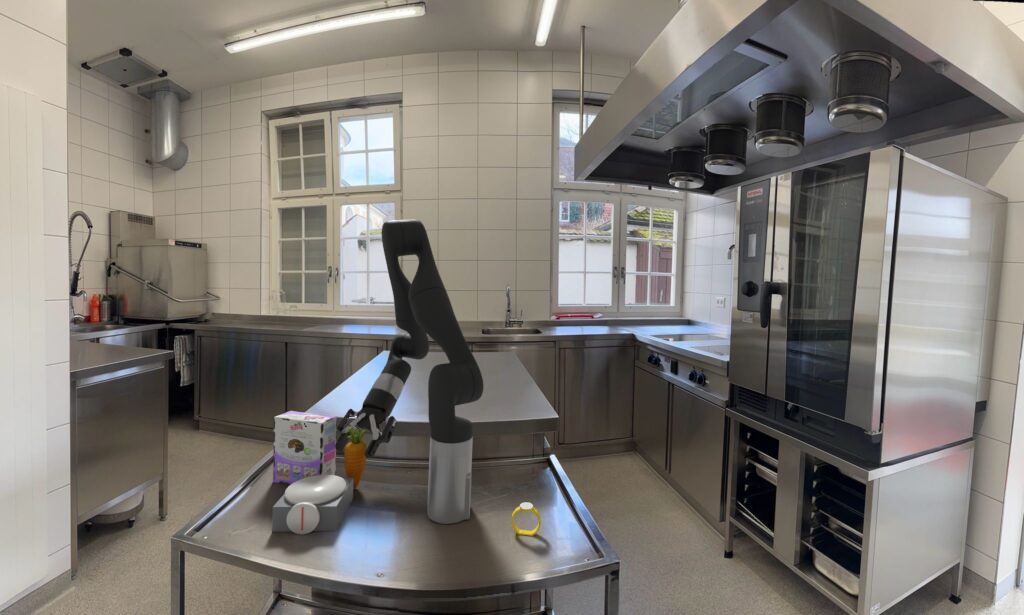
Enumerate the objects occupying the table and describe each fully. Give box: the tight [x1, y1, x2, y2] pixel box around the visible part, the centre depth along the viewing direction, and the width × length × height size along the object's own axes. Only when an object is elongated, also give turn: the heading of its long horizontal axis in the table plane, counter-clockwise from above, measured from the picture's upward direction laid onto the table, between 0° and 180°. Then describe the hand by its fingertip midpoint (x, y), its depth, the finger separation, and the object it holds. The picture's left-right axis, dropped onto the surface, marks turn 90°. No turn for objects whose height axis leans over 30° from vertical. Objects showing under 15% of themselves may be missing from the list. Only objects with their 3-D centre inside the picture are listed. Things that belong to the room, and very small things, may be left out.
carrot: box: [343, 427, 368, 490], centre depth 97 cm, size 5×5×15 cm
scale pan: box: [284, 474, 346, 505], centre depth 86 cm, size 12×12×1 cm
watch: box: [510, 502, 542, 537], centre depth 83 cm, size 6×3×6 cm, turn 84°
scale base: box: [271, 477, 354, 535], centre depth 85 cm, size 12×13×6 cm
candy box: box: [272, 410, 338, 486], centre depth 99 cm, size 14×6×16 cm, turn 77°
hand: (352, 453), depth 96 cm, fingers open, 8 cm apart
